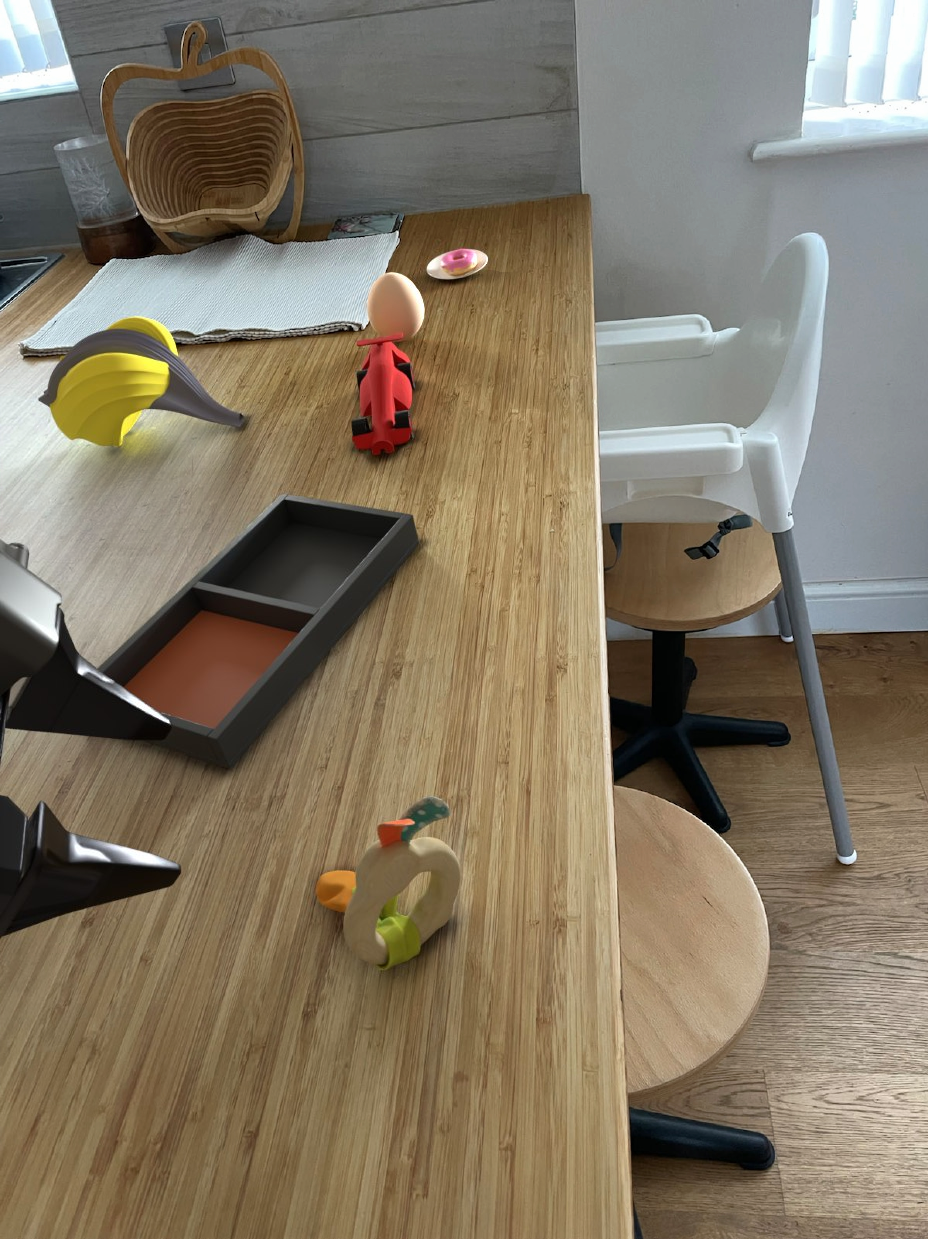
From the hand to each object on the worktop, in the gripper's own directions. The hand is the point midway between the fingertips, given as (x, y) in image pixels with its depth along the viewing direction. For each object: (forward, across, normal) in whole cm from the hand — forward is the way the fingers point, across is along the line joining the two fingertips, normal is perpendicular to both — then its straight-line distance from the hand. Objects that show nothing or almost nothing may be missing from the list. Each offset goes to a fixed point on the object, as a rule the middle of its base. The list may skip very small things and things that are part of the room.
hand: (172, 798), depth 45 cm
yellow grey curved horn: (+7, +69, +12) cm, 70 cm away
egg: (+28, +76, -9) cm, 82 cm away
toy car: (+24, +58, -5) cm, 63 cm away
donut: (+37, +95, -18) cm, 103 cm away
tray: (+12, +29, +7) cm, 32 cm away
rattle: (+15, 0, +4) cm, 16 cm away
